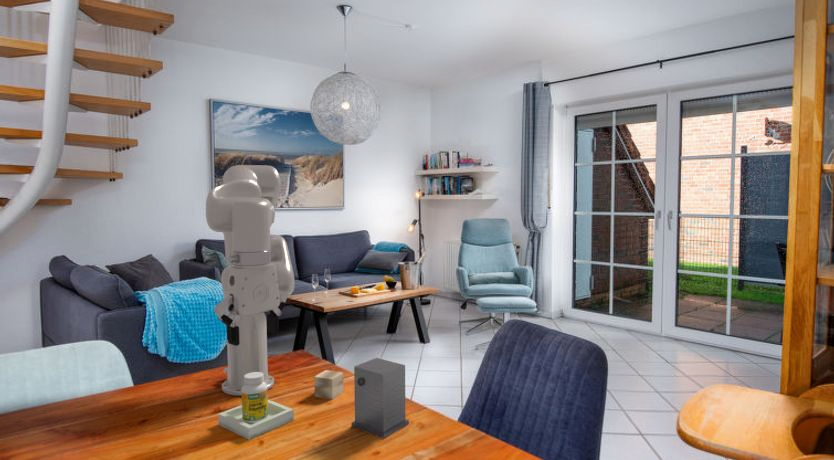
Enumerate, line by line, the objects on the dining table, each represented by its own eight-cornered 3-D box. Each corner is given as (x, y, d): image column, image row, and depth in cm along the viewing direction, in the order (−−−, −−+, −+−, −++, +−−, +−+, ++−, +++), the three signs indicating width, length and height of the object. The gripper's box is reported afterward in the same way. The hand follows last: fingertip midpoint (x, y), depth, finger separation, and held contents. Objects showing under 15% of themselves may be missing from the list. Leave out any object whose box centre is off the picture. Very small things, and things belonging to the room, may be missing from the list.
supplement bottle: (263, 411, 112) (262, 368, 112) (272, 419, 108) (270, 375, 107) (239, 417, 109) (237, 374, 108) (246, 426, 105) (245, 381, 104)
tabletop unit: (351, 426, 107) (350, 366, 106) (377, 413, 113) (376, 356, 112) (383, 438, 101) (383, 375, 100) (408, 424, 108) (408, 365, 107)
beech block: (314, 396, 122) (314, 376, 122) (326, 389, 127) (325, 369, 127) (332, 400, 120) (332, 379, 120) (343, 392, 125) (343, 372, 125)
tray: (218, 424, 107) (218, 413, 107) (262, 407, 116) (262, 397, 116) (249, 440, 101) (249, 428, 101) (293, 420, 110) (293, 409, 109)
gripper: (224, 266, 97) (227, 353, 99) (296, 255, 111) (297, 332, 112) (203, 262, 101) (206, 345, 103) (275, 252, 115) (276, 326, 117)
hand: (254, 338), depth 108 cm, fingers open, 9 cm apart
